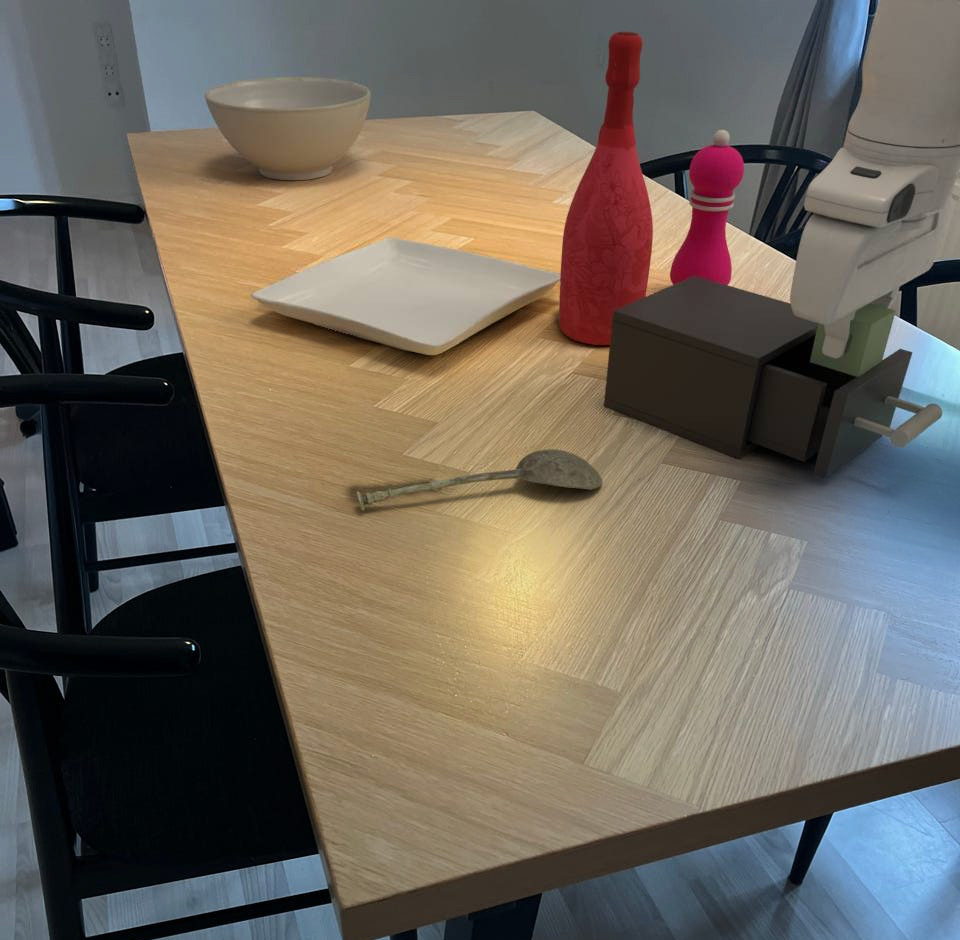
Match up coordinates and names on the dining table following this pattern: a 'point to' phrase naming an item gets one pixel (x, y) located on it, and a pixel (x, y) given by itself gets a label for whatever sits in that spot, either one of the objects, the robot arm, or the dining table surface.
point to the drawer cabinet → (698, 359)
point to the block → (859, 341)
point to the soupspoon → (515, 475)
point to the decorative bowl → (290, 122)
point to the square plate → (408, 294)
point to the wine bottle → (608, 214)
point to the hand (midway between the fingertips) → (850, 345)
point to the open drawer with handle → (832, 408)
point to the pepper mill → (709, 213)
